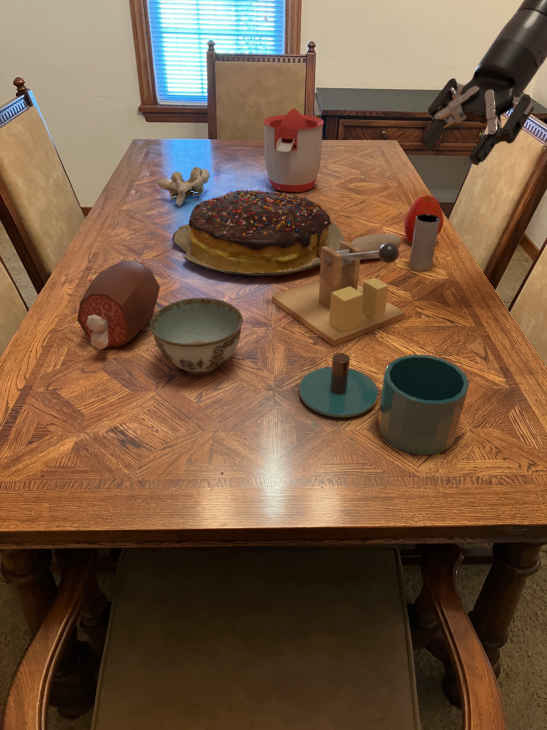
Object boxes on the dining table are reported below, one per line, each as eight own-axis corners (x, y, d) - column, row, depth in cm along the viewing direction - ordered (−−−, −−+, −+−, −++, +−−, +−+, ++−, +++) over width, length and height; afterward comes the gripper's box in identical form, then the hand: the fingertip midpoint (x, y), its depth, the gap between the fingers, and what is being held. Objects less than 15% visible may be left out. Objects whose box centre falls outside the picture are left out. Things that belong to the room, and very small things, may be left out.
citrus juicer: (254, 194, 152) (252, 114, 140) (273, 175, 165) (273, 100, 154) (311, 200, 148) (314, 118, 137) (326, 180, 162) (330, 104, 150)
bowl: (247, 340, 94) (246, 298, 90) (240, 391, 83) (238, 345, 79) (165, 339, 95) (159, 296, 90) (147, 389, 84) (140, 343, 79)
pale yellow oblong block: (360, 325, 96) (363, 294, 92) (341, 332, 94) (344, 300, 91) (347, 317, 98) (350, 285, 95) (328, 323, 96) (331, 292, 93)
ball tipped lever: (404, 259, 86) (401, 240, 86) (389, 264, 85) (386, 244, 84) (344, 265, 99) (340, 248, 98) (330, 269, 98) (326, 252, 97)
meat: (135, 365, 88) (125, 308, 82) (65, 358, 90) (51, 301, 84) (175, 303, 104) (169, 251, 99) (115, 297, 106) (106, 246, 100)
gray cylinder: (434, 264, 118) (443, 216, 112) (426, 273, 114) (435, 224, 108) (413, 259, 120) (420, 211, 114) (405, 267, 116) (412, 219, 110)
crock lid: (386, 384, 85) (392, 347, 81) (362, 430, 77) (367, 391, 73) (316, 365, 89) (318, 328, 85) (286, 406, 81) (287, 368, 77)
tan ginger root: (162, 205, 149) (154, 173, 145) (202, 189, 156) (196, 159, 152) (182, 208, 143) (174, 175, 139) (224, 191, 151) (217, 160, 146)
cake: (301, 207, 145) (301, 167, 140) (377, 263, 117) (381, 216, 111) (159, 232, 134) (153, 189, 128) (205, 299, 106) (200, 249, 100)
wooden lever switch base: (404, 318, 100) (414, 256, 93) (333, 346, 93) (338, 281, 86) (339, 279, 112) (343, 221, 105) (271, 301, 105) (271, 241, 98)
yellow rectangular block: (384, 316, 98) (388, 285, 95) (373, 320, 97) (377, 289, 94) (371, 308, 101) (374, 277, 97) (360, 312, 100) (363, 281, 96)
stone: (338, 245, 119) (382, 218, 122) (349, 272, 121) (392, 245, 124) (353, 246, 114) (399, 218, 117) (364, 274, 116) (408, 246, 119)
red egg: (433, 253, 122) (441, 204, 116) (396, 245, 126) (402, 197, 119) (443, 239, 128) (452, 192, 122) (408, 232, 131) (414, 185, 125)
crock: (462, 416, 79) (475, 366, 74) (446, 464, 71) (459, 412, 66) (390, 396, 82) (398, 347, 77) (368, 440, 75) (374, 389, 70)
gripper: (466, 30, 83) (402, 127, 85) (556, 43, 74) (482, 151, 76) (481, 66, 89) (420, 155, 91) (566, 82, 80) (497, 181, 82)
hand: (449, 153), depth 83 cm, fingers open, 8 cm apart
